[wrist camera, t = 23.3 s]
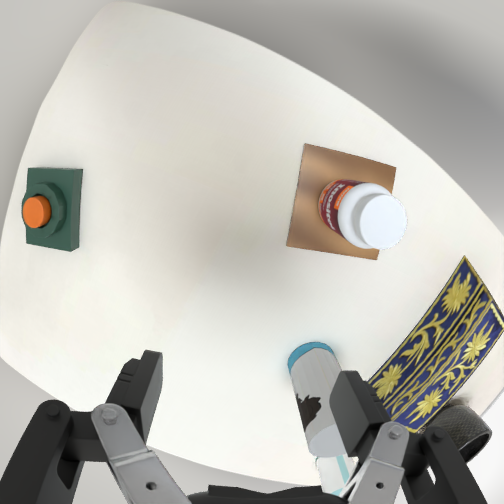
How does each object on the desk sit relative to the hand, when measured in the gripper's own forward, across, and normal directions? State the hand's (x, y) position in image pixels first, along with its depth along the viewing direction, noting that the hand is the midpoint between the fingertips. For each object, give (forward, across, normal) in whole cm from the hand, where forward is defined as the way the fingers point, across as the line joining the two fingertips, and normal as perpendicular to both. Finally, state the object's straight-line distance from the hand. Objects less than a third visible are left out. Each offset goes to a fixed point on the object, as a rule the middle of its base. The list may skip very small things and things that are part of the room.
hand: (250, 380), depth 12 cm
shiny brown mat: (+23, -11, -7) cm, 26 cm away
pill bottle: (+23, -11, -7) cm, 26 cm away
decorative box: (+23, -32, +12) cm, 41 cm away
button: (+20, +25, -2) cm, 32 cm away
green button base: (+23, +25, -2) cm, 34 cm away
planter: (+23, -49, +32) cm, 63 cm away
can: (+23, -24, +40) cm, 52 cm away
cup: (+23, -12, +15) cm, 30 cm away
